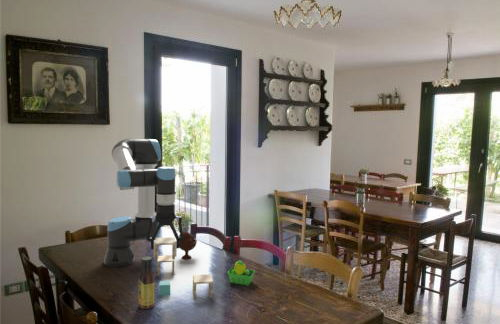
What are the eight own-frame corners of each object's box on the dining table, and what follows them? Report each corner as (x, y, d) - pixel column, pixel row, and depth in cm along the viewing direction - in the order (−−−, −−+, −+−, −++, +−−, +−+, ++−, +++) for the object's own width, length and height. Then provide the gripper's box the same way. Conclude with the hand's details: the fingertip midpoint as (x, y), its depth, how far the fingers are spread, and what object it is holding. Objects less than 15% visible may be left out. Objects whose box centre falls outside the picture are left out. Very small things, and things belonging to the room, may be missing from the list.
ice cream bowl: (193, 262, 203) (193, 234, 201) (173, 260, 205) (173, 232, 204) (199, 255, 213) (199, 229, 212) (180, 254, 215) (181, 228, 214)
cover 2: (157, 275, 183) (157, 261, 182) (158, 269, 191) (158, 255, 190) (174, 274, 185) (174, 260, 184) (174, 268, 192) (174, 255, 192)
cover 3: (193, 298, 159) (193, 282, 158) (192, 290, 167) (192, 275, 166) (212, 297, 160) (213, 281, 160) (210, 289, 168) (211, 274, 168)
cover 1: (155, 260, 158) (155, 243, 158) (155, 253, 166) (156, 237, 165) (174, 259, 160) (174, 243, 159) (174, 253, 168) (174, 237, 167)
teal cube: (159, 295, 161) (159, 285, 161) (159, 291, 166) (159, 281, 165) (170, 295, 162) (170, 284, 162) (170, 290, 166) (170, 280, 166)
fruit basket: (255, 281, 180) (255, 257, 179) (248, 288, 171) (249, 263, 170) (232, 277, 183) (233, 254, 182) (225, 284, 175) (226, 260, 174)
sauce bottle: (140, 302, 154) (140, 254, 152) (155, 302, 154) (156, 254, 153) (136, 310, 147) (136, 260, 146) (153, 310, 148) (153, 260, 146)
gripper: (139, 205, 155) (139, 259, 157) (191, 205, 159) (190, 258, 161) (140, 201, 162) (140, 253, 164) (190, 201, 166) (189, 252, 168)
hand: (165, 255), depth 163 cm, fingers closed on cover 1, 8 cm apart
